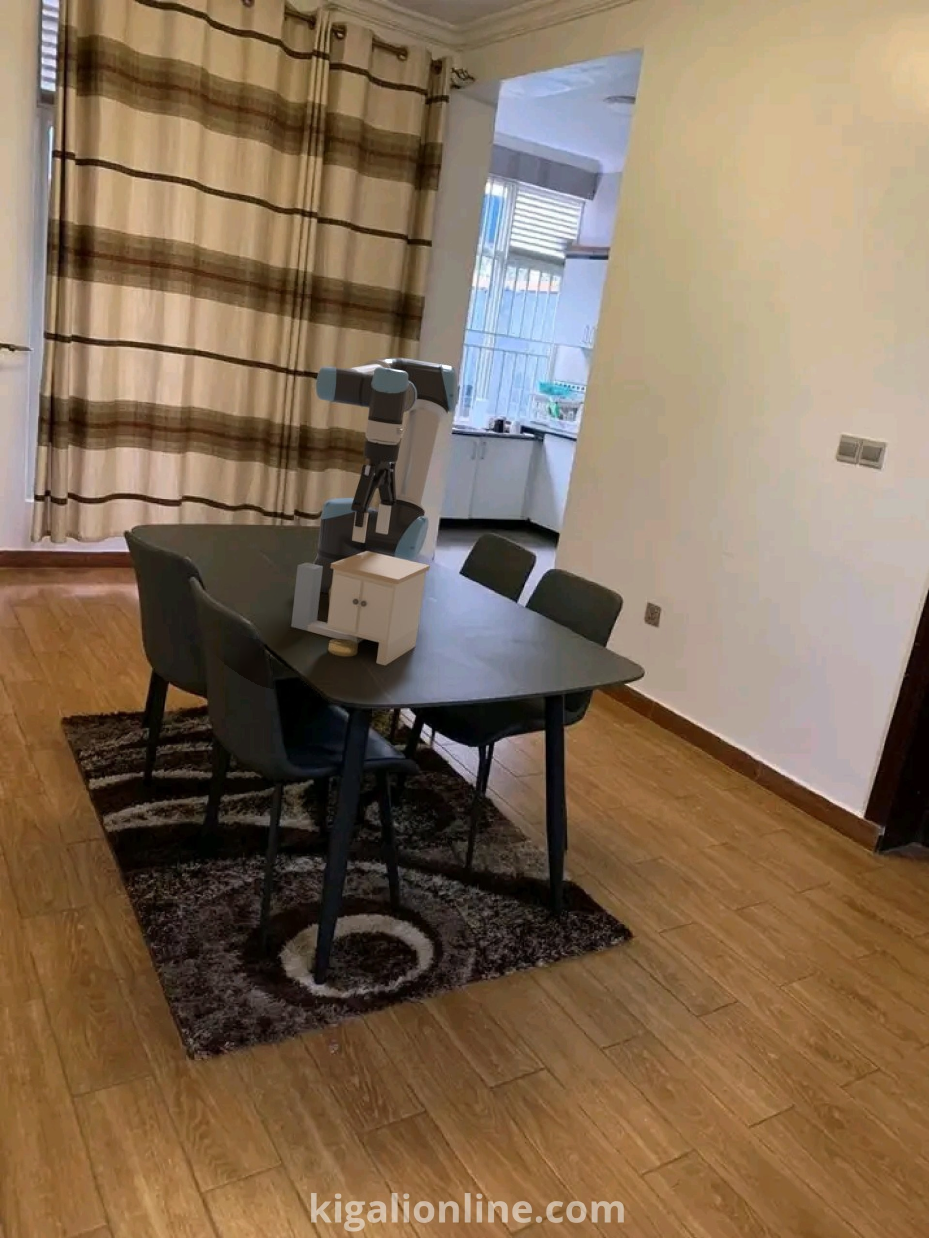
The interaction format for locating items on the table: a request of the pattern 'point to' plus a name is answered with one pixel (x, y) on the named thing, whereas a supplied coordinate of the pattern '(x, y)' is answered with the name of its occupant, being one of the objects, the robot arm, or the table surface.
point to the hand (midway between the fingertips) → (370, 537)
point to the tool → (312, 603)
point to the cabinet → (378, 601)
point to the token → (343, 647)
